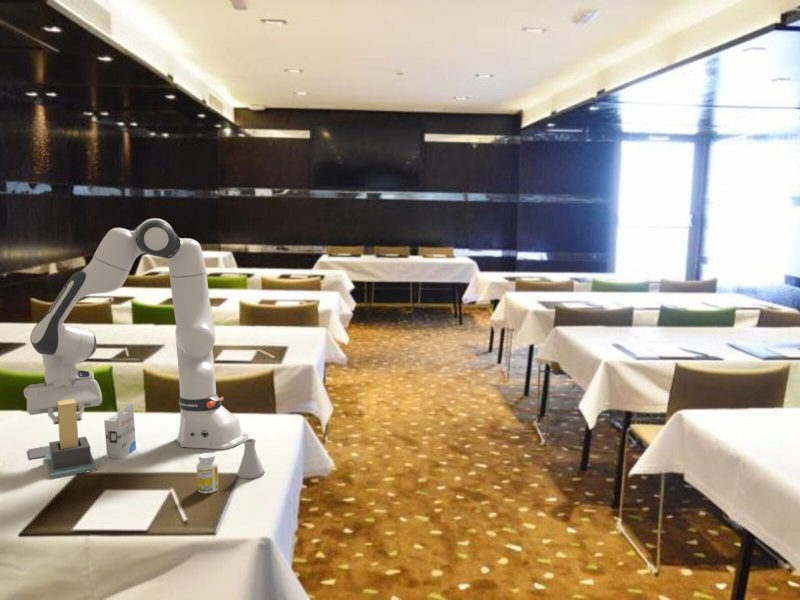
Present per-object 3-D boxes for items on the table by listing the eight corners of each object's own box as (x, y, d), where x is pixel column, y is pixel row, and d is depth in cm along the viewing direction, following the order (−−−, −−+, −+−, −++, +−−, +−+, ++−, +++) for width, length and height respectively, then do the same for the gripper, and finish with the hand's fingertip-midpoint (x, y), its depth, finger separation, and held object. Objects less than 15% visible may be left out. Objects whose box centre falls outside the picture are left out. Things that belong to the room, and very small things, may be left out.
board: (46, 458, 225) (45, 455, 224) (89, 451, 230) (88, 447, 230) (51, 478, 209) (50, 475, 209) (97, 470, 215) (96, 466, 214)
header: (50, 458, 221) (49, 442, 221) (87, 452, 226) (85, 436, 225) (53, 469, 213) (52, 452, 212) (91, 463, 217) (90, 446, 217)
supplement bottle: (205, 495, 196) (204, 460, 195) (193, 490, 200) (191, 455, 198) (222, 489, 201) (221, 454, 199) (210, 484, 204) (208, 450, 202)
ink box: (122, 448, 232) (119, 402, 230) (136, 449, 231) (133, 402, 229) (106, 458, 224) (102, 410, 222) (121, 459, 223) (117, 411, 221)
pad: (28, 450, 231) (28, 449, 231) (60, 445, 236) (60, 444, 236) (29, 459, 224) (29, 458, 223) (62, 454, 228) (62, 452, 228)
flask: (251, 481, 206) (250, 446, 204) (232, 476, 209) (230, 442, 208) (269, 473, 212) (268, 438, 210) (250, 468, 215) (249, 434, 214)
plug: (59, 447, 220) (57, 401, 218) (76, 444, 222) (74, 398, 220) (61, 452, 216) (58, 405, 214) (78, 449, 218) (75, 402, 216)
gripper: (22, 380, 217) (27, 422, 210) (98, 371, 226) (105, 410, 220) (23, 391, 221) (28, 432, 214) (97, 382, 231) (104, 421, 224)
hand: (67, 421), depth 217 cm, fingers closed on plug, 5 cm apart
